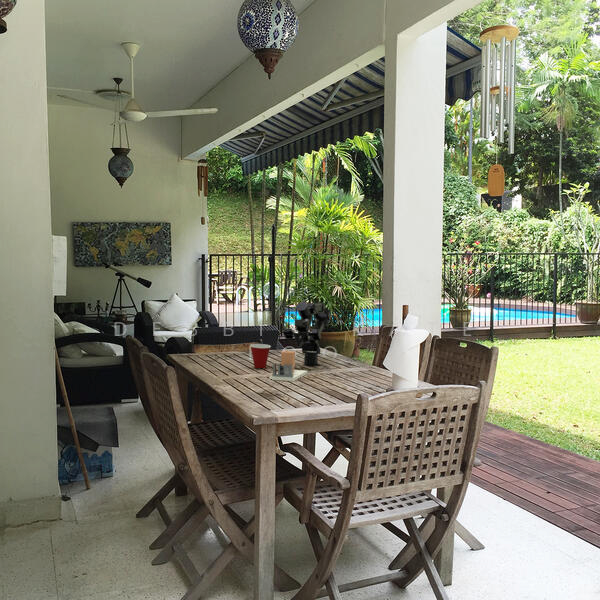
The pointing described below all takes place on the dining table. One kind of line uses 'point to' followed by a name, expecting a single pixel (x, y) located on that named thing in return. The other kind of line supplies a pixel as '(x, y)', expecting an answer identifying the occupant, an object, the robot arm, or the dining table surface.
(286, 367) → the connector and comb
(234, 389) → the dining table surface
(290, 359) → the marker sleeve
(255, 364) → the plastic cup
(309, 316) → the robot arm
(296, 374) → the cord board
